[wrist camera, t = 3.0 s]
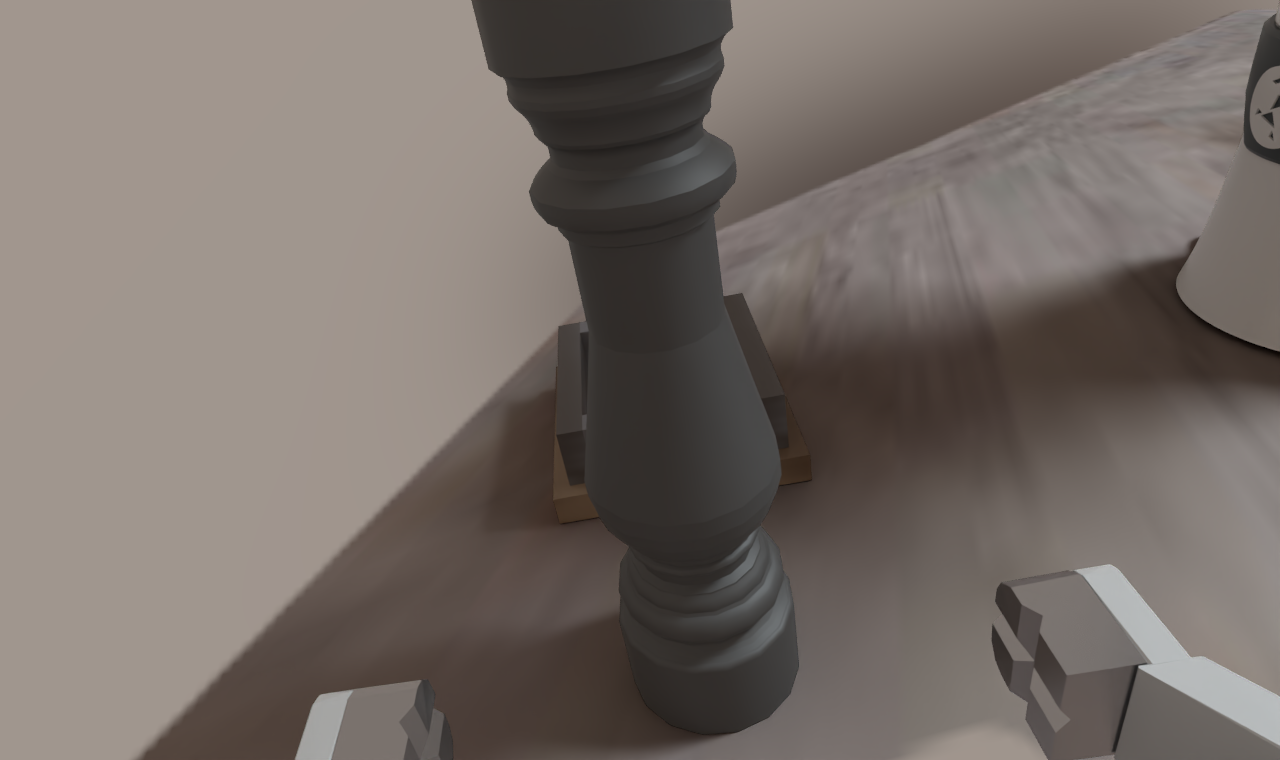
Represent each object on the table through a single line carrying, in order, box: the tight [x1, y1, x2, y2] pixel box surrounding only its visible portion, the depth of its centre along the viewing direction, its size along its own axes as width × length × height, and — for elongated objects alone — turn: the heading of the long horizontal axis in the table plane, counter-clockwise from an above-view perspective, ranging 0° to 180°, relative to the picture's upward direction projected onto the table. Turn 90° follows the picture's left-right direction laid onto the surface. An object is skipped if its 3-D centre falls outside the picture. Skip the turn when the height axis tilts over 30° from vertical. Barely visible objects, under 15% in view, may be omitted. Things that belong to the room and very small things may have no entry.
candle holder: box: [472, 0, 799, 735], centre depth 23 cm, size 6×6×25 cm
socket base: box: [553, 293, 812, 524], centre depth 42 cm, size 12×12×4 cm
